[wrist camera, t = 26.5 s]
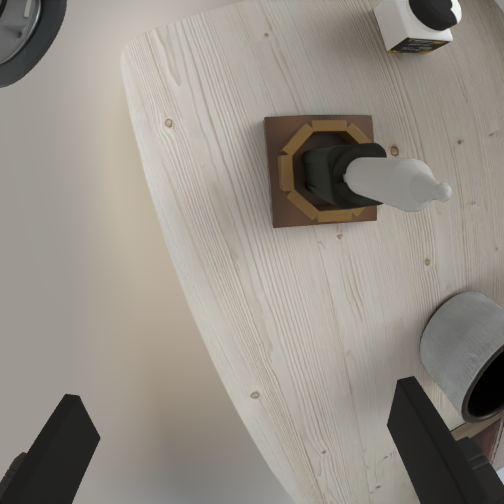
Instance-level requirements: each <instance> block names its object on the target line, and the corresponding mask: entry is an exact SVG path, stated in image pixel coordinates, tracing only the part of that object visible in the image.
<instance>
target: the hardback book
mask: <svg viewBox="0 0 504 504" xmlns="http://www.w3.org/2000/svg"><path fill="white" fill-rule="evenodd" d="M503 427H504V411H502V412H501V413H500V414H498V415H497V416H495V417H493V418H491V419H489V420H487V421H485V422H482V423H478V424H470V423H467V422H466V423H465V424H463V425H461V426H460V427H458V428H456V429H455V430H453V431H451V434H452V435H453V437H454V439H455V440H459V439H461V438H464V437H466V436H468V437H469V438H471V439H472V440H473V441H475V442H476V443H478V445H479V447H480V448H481V450H482V451H483V453H484V455H485V456H486V457H487V459H488V460H489V463H490V464H491V465H492V463H493V460H494V457H495V454H496V451H497V448H498V445H499V441H500V438H501V434H502V431H503Z"/></svg>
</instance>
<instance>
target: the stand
mask: <svg viewBox="0 0 504 504" xmlns="http://www.w3.org/2000/svg"><path fill="white" fill-rule="evenodd" d="M263 122H264V133H265V145H266V157H267V169H268V181H269V193H270V206H271V219H272V226H273V228H280V227H293V226H305V225H319V224H332V223H347V222H361V221H376V220H377V205H376V206H369V207H361V208H354V209H340V208H339V207H337V206H335V205H333V204H331V203H330V202H328V201H326V200H324V199H322V198H320V197H318V196H317V195H315V194H313V193H311V192H309V191H308V190H307V189H306V187H305V183H306V178H305V171H304V164H303V163H302V162H301V159H302V155H303V154H304V153H305V152H306V151H309V150H314V149H320V148H326V147H333V146H339V145H350V144H361V143H374V137H373V125H372V116H371V115H303V116H280V117H265V118H264V120H263Z"/></svg>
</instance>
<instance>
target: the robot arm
mask: <svg viewBox="0 0 504 504" xmlns="http://www.w3.org/2000/svg"><path fill="white" fill-rule="evenodd" d="M42 14H43V0H0V66H1V65H4V64H6V63H8V62H10V61H11V60H12V59H14V58H15V57H16V56H17V55H18V54H19V53H20V52H21V51H22V50H23V49H24V48H25V47H26V45H27V44H28V43H29V41H30V40H31V38H32V37H33V35H34V34H35V32H36V30H37V28H38V26H39V23H40V21H41V18H42ZM387 427H388V429H389V431H390V434H391V436H392V438H393V440H394V443H395V445H396V447H397V449H398V452H399V454H400V456H401V458H402V461H403V463H404V465H405V468H406V470H407V472H408V475H409V477H410V479H411V482H412V484H413V486H414V489H415V491H416V494H417V496H418V498H419V501H420V503H421V504H504V485H503V483H502V481H501V480H500V478H499V477H498V475H497V473H496V472H495V470H494V468H493V467H492V465H491V464H490V463H489V460H488V459H487V457H486V456H485V455H484V453H483V451H482V450H481V448H480V447H479V445H478V443H476V442H475V441H473V440H472V439H471V438H469V437H468V436H466V437H464V438H461V439H459V440H455V439H454V437H453V435H452V434H451V432H450V430H449V429H448V427H447V426H446V424H445V423H444V421H443V419H442V418H441V416H440V415H439V413H438V412H437V410H436V408H435V407H434V405H433V404H432V402H431V401H430V399H429V398H428V396H427V395H426V393H425V392H424V390H423V389H422V387H421V386H420V384H419V383H418V381H417V380H416V378H415V377H414V376H412V377H408V378H403V379H399V380H397V385H396V389H395V394H394V398H393V403H392V407H391V411H390V415H389V419H388V423H387ZM99 440H100V436H99V434H98V432H97V430H96V428H95V426H94V425H93V423H92V421H91V419H90V417H89V415H88V413H87V411H86V409H85V407H84V405H83V403H82V401H81V398H80V396H77V395H70V394H65V395H64V397H63V398H62V400H61V401H60V403H59V404H58V406H57V407H56V409H55V410H54V412H53V413H52V415H51V416H50V418H49V420H48V421H47V423H46V424H45V426H44V427H43V429H42V430H41V432H40V434H39V435H38V437H37V438H36V440H35V441H34V443H33V445H32V446H31V448H30V449H29V451H28V453H24V452H22V453H21V454H20V455H19V456H17V457H16V458H15V459H14V461H13V462H12V464H11V465H10V467H9V469H8V470H7V472H6V474H5V476H4V477H3V479H2V480H1V482H0V504H72V502H73V500H74V497H75V495H76V492H77V490H78V488H79V485H80V483H81V481H82V478H83V476H84V474H85V472H86V469H87V467H88V465H89V463H90V460H91V458H92V456H93V454H94V451H95V449H96V447H97V445H98V443H99Z"/></svg>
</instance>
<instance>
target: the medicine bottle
mask: <svg viewBox="0 0 504 504" xmlns="http://www.w3.org/2000/svg"><path fill="white" fill-rule="evenodd" d="M373 11H374V14H375V17H376V19H377V22H378V25H379V28H380V31H381V34H382V37H383V40H384V43H385V47H386V50H387V52H408V53H429V52H431V51H433V50H435V49H437V48H439V47H441V46H443V45H445V44H447V43H449V42H451V41H452V40H453V38H452V35H451V32H450V29H449V28H450V27H452V26H454V25H455V24H457V23H458V22H459V21H460V19H461V8H460V5H459V3H458V1H457V0H381V2H380V3H379V4H378V5H377V6H376V7H375V8H374V9H373Z"/></svg>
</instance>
